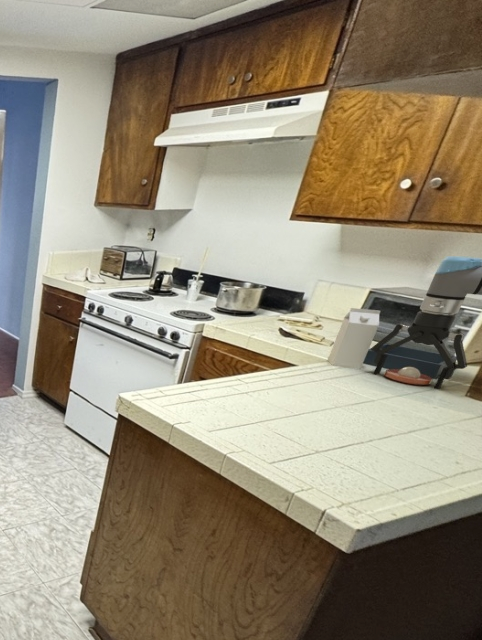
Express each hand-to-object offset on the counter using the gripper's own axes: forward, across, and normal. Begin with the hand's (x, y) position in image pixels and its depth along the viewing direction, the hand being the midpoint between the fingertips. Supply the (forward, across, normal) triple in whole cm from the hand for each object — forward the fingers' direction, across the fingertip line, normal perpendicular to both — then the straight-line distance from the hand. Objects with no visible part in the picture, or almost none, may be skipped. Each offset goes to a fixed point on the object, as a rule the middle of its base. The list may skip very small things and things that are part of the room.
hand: (404, 381), depth 143 cm
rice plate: (0, 0, 0) cm, 0 cm away
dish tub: (0, -5, +19) cm, 20 cm away
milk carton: (0, -16, +3) cm, 16 cm away
